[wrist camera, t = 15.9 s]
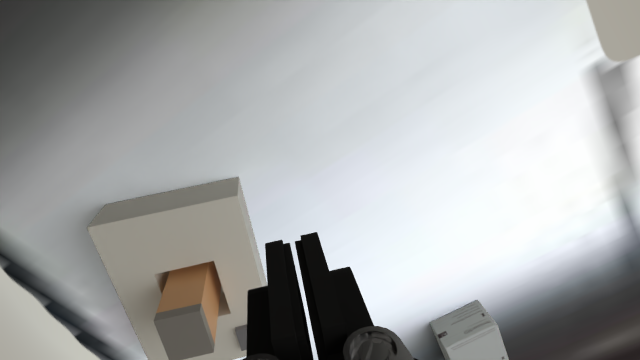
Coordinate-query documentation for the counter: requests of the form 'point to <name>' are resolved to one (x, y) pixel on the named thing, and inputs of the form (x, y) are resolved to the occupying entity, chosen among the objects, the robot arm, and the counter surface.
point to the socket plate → (181, 257)
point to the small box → (469, 334)
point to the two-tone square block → (189, 311)
